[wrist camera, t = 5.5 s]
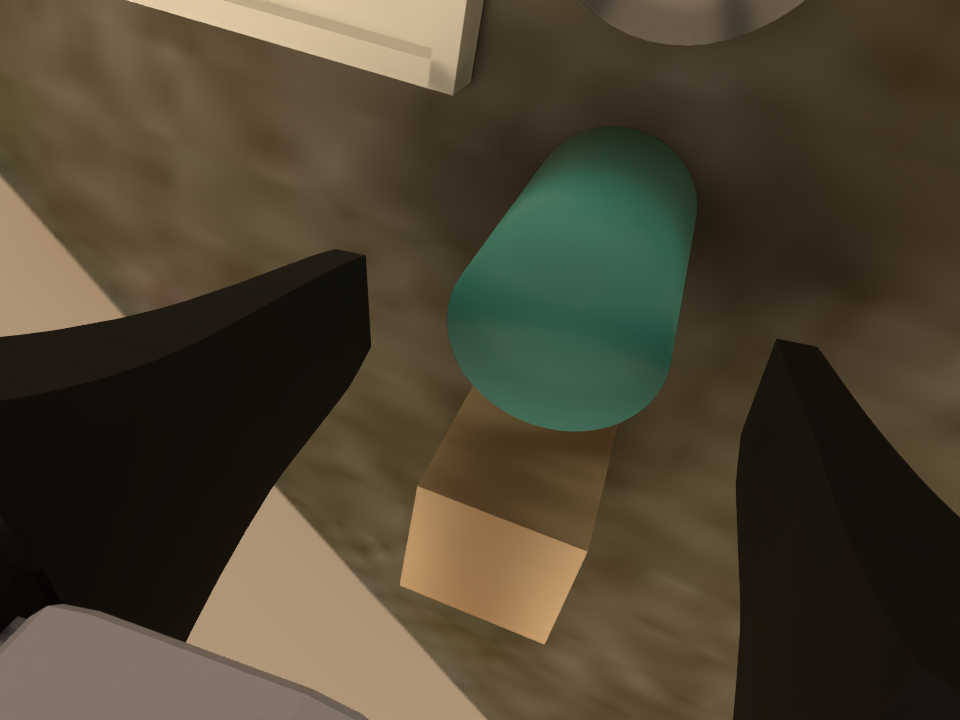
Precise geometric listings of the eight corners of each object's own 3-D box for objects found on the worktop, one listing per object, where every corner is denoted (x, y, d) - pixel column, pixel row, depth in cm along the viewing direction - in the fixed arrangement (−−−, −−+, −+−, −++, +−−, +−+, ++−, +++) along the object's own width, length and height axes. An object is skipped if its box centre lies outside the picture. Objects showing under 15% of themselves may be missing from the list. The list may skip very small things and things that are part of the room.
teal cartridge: (725, 154, 15) (710, 282, 10) (663, 303, 17) (629, 459, 13) (552, 105, 16) (465, 205, 11) (516, 255, 18) (433, 388, 13)
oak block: (627, 388, 19) (587, 551, 15) (588, 480, 22) (544, 644, 17) (496, 343, 20) (417, 486, 15) (473, 437, 22) (399, 585, 18)
